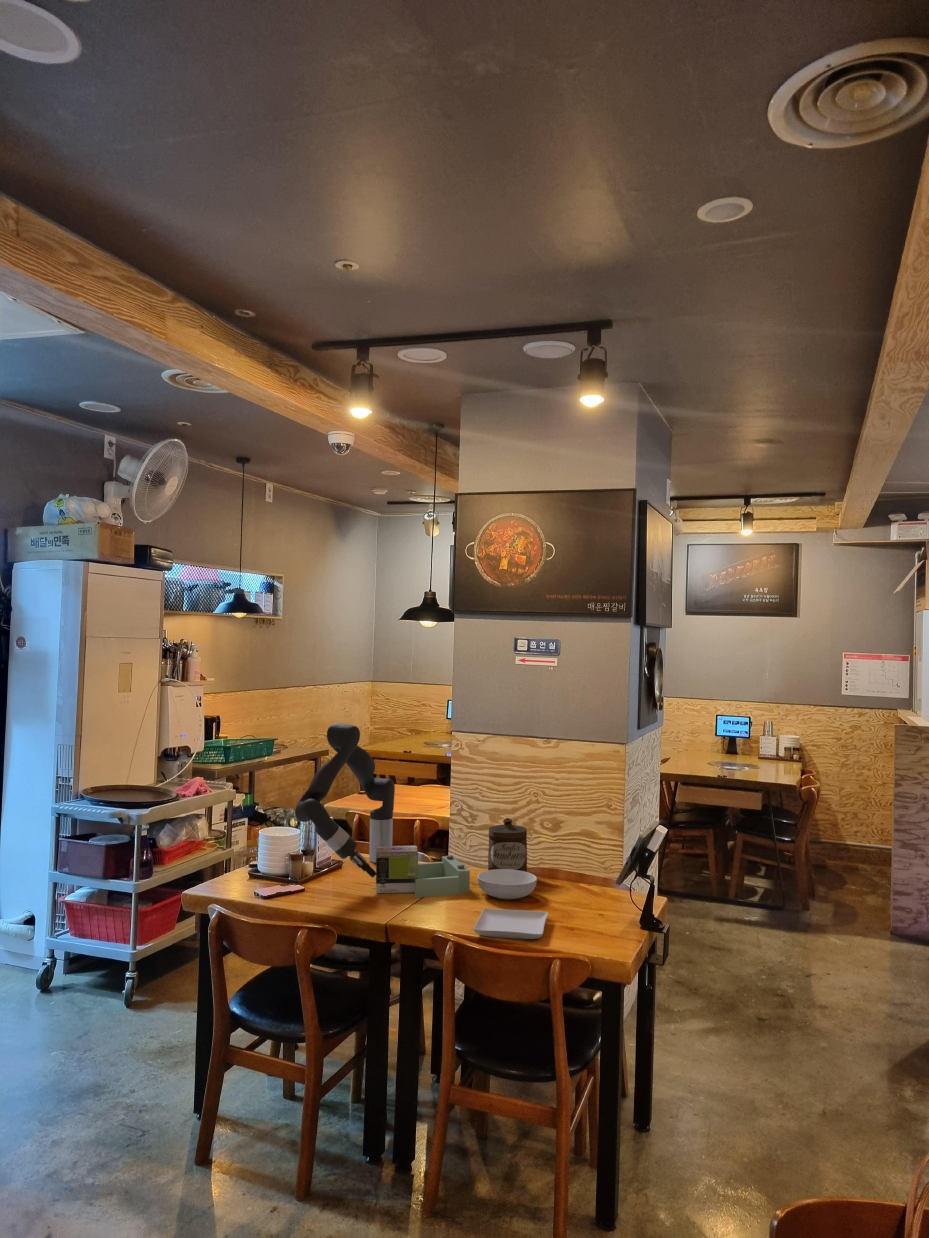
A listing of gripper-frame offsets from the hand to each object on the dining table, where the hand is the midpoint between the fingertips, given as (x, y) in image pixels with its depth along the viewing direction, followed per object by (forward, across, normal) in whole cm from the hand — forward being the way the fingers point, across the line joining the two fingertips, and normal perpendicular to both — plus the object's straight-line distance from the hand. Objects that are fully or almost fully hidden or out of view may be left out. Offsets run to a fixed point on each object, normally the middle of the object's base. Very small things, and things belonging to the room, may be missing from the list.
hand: (374, 875), depth 302 cm
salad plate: (+28, -51, -19) cm, 61 cm away
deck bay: (+20, 0, -12) cm, 23 cm away
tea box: (+10, 0, -2) cm, 10 cm away
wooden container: (+42, +7, -34) cm, 54 cm away
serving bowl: (+35, -17, -27) cm, 48 cm away
